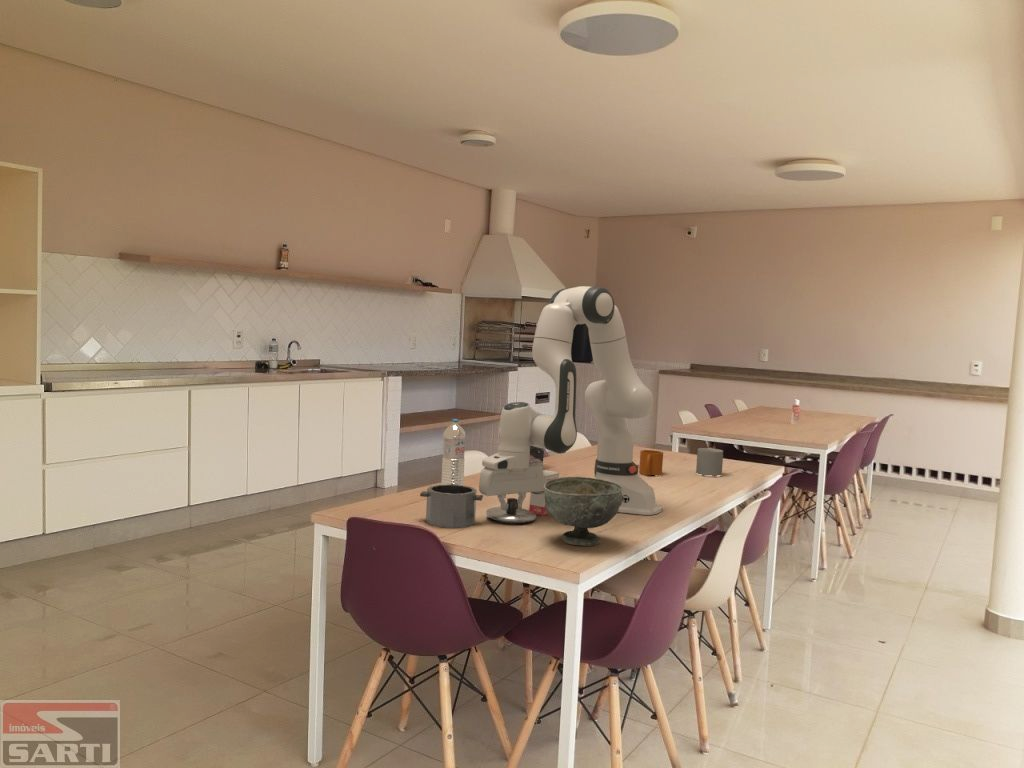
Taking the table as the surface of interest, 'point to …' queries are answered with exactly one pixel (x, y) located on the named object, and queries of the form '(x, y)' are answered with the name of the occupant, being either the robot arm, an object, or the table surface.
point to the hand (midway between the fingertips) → (511, 509)
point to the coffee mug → (709, 461)
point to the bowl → (582, 506)
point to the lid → (511, 513)
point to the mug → (651, 462)
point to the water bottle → (453, 455)
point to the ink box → (541, 495)
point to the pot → (451, 505)
